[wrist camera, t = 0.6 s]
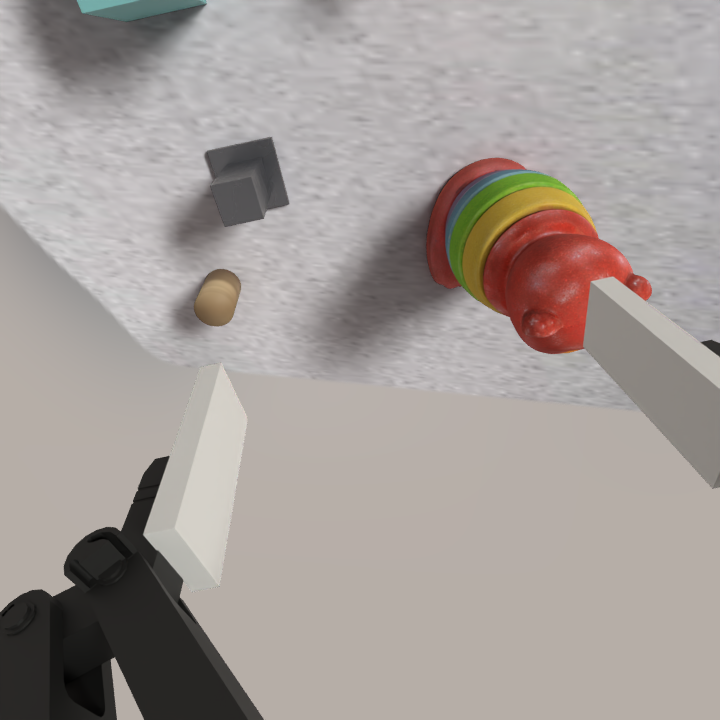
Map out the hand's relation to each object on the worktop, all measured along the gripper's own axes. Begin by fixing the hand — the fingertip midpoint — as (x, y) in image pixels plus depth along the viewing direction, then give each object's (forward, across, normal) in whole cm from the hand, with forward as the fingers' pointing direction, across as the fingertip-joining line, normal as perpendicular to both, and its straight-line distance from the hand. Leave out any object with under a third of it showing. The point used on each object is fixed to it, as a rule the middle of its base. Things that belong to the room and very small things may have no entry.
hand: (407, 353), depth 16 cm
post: (+23, -8, +2) cm, 25 cm away
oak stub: (+23, -13, -6) cm, 27 cm away
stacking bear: (+23, +10, -5) cm, 26 cm away
